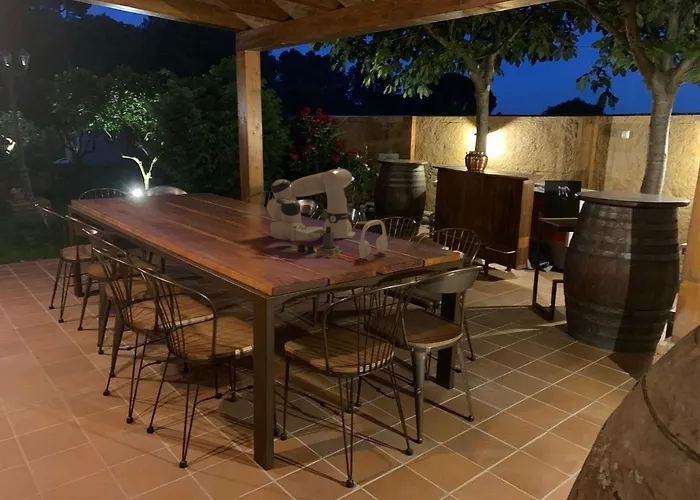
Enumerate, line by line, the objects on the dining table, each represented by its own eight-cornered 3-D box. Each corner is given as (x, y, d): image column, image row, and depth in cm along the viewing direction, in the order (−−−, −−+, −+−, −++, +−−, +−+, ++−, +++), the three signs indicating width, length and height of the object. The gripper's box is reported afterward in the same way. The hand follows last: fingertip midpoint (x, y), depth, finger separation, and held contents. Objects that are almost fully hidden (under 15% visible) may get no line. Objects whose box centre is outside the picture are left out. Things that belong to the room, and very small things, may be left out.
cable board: (294, 247, 291) (294, 238, 290) (342, 252, 282) (342, 243, 281) (280, 252, 277) (280, 243, 276) (330, 258, 267) (330, 249, 266)
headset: (366, 260, 265) (368, 223, 262) (354, 258, 269) (355, 221, 266) (389, 253, 281) (391, 219, 277) (378, 251, 285) (379, 217, 281)
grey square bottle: (326, 251, 278) (326, 225, 276) (333, 252, 277) (333, 226, 274) (322, 252, 275) (323, 226, 272) (330, 253, 273) (330, 227, 271)
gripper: (307, 235, 289) (332, 237, 285) (289, 241, 271) (315, 244, 266) (307, 223, 288) (332, 225, 283) (289, 228, 269) (316, 231, 264)
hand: (324, 234), depth 274 cm, fingers open, 8 cm apart
